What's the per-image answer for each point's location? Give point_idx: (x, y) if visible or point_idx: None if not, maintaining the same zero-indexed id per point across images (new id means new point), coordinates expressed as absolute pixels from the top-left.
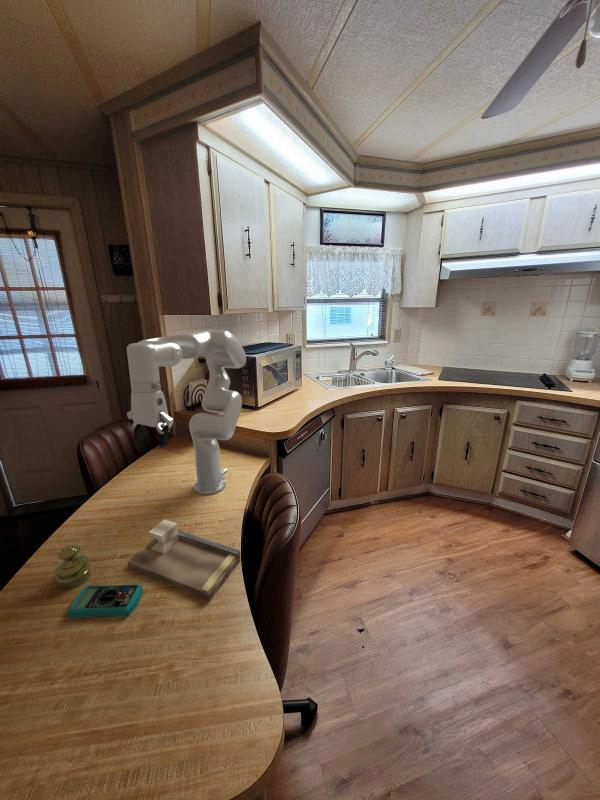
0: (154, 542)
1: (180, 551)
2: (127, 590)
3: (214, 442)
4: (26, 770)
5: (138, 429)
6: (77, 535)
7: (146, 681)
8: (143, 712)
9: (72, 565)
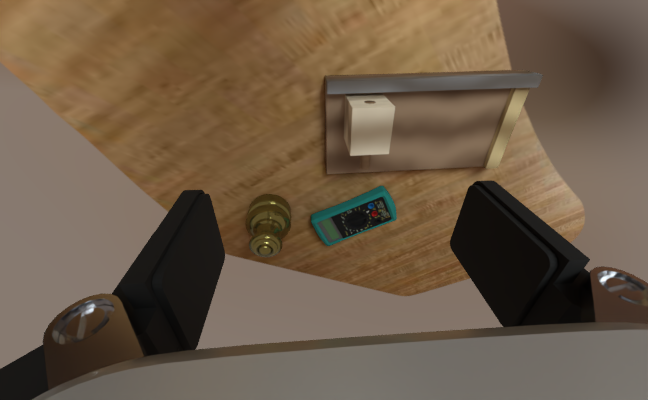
0: (370, 155)
1: (405, 118)
2: (374, 205)
3: None
4: (408, 291)
5: (188, 328)
6: (153, 157)
7: None
8: None
9: (279, 234)
